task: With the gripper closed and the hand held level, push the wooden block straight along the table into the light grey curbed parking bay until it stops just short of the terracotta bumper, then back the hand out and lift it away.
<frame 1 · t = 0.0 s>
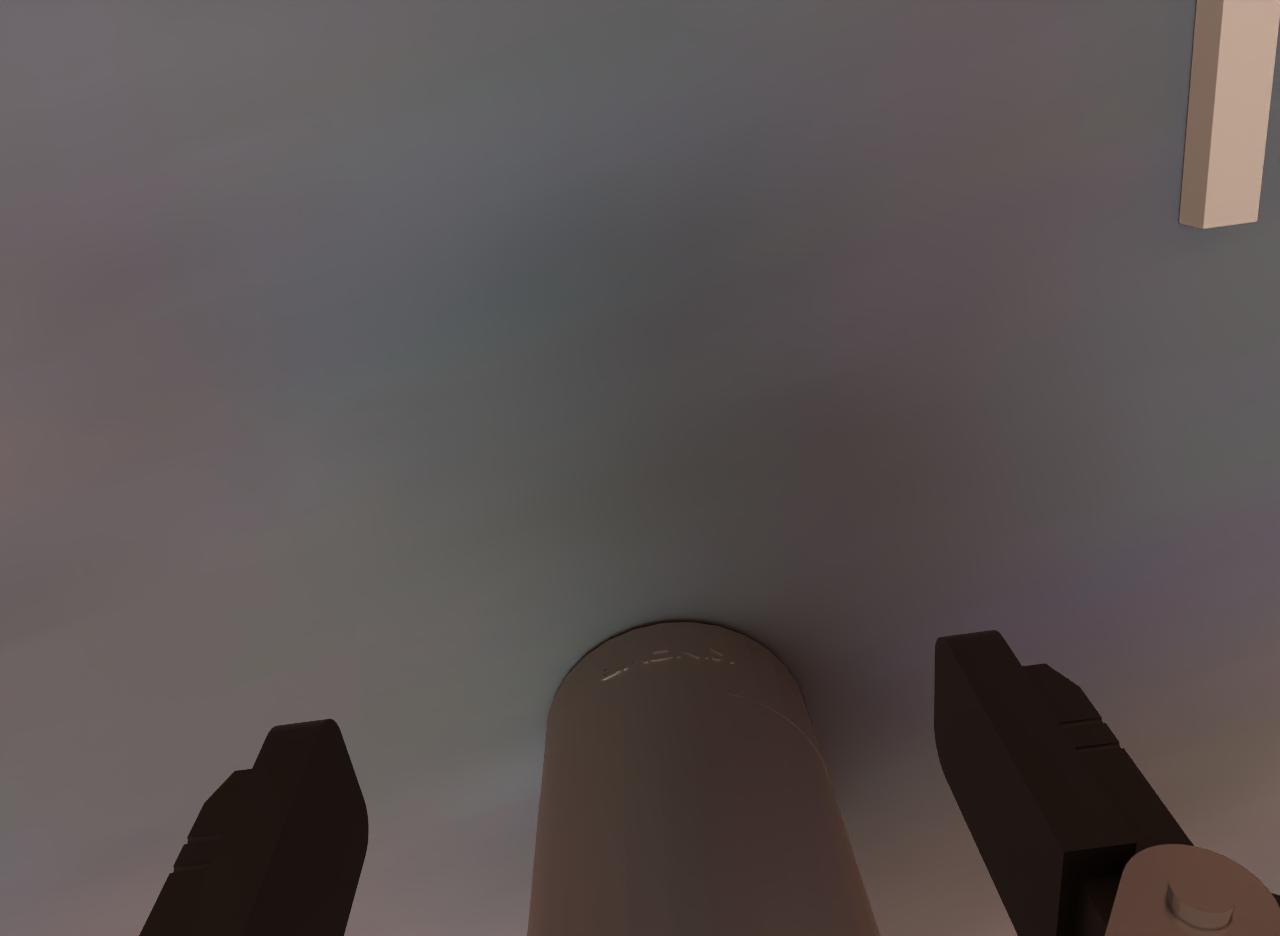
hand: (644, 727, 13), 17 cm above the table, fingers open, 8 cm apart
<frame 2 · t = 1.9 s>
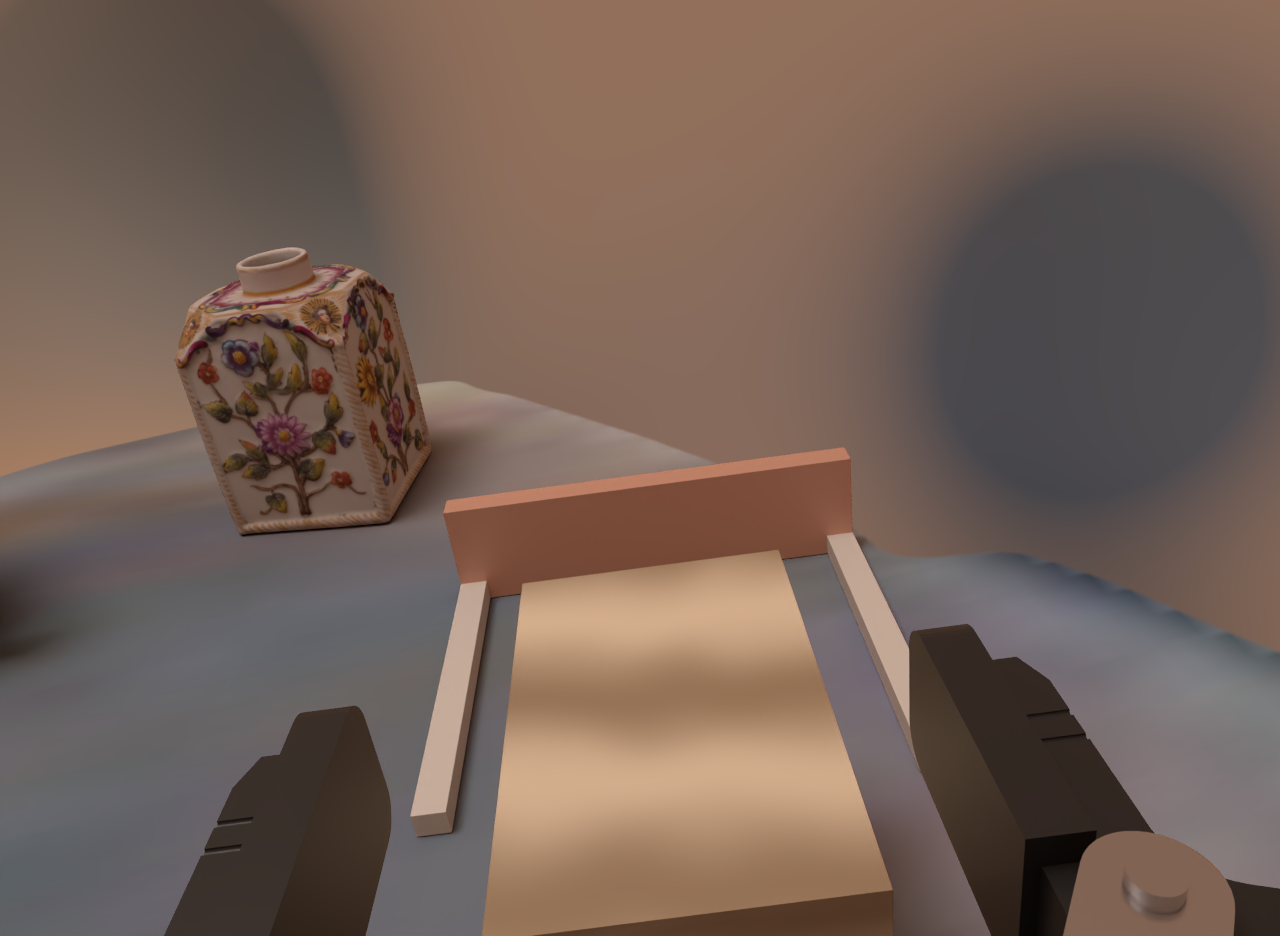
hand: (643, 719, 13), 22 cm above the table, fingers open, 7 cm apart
parking bay: (668, 661, 49), on the table
decorative jar: (341, 494, 71), on the table
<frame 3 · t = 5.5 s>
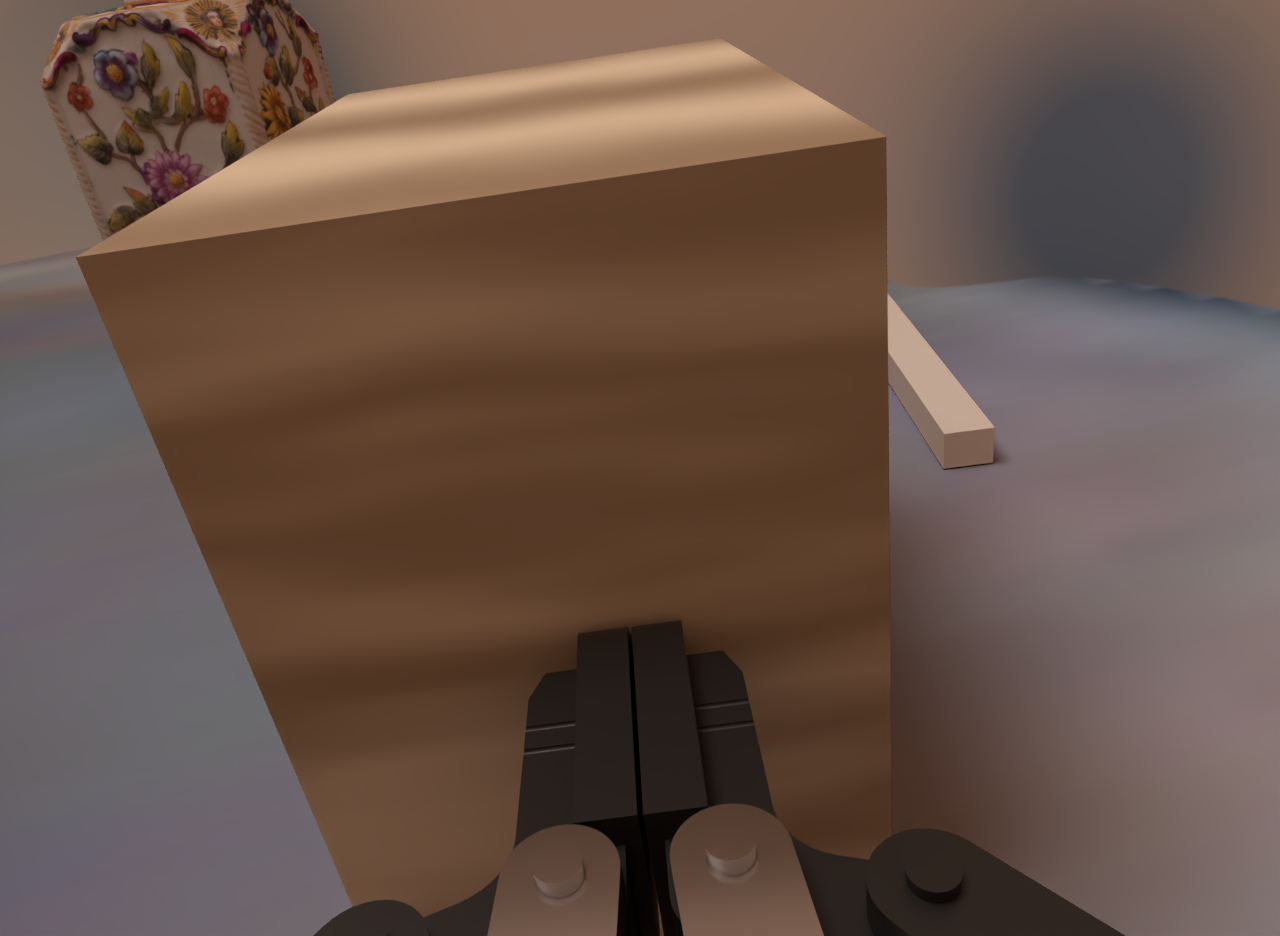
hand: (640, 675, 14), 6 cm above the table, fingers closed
parking bay: (618, 386, 38), on the table
decorative jar: (262, 280, 61), on the table
wooden block: (621, 676, 23), on the table, touching gripper
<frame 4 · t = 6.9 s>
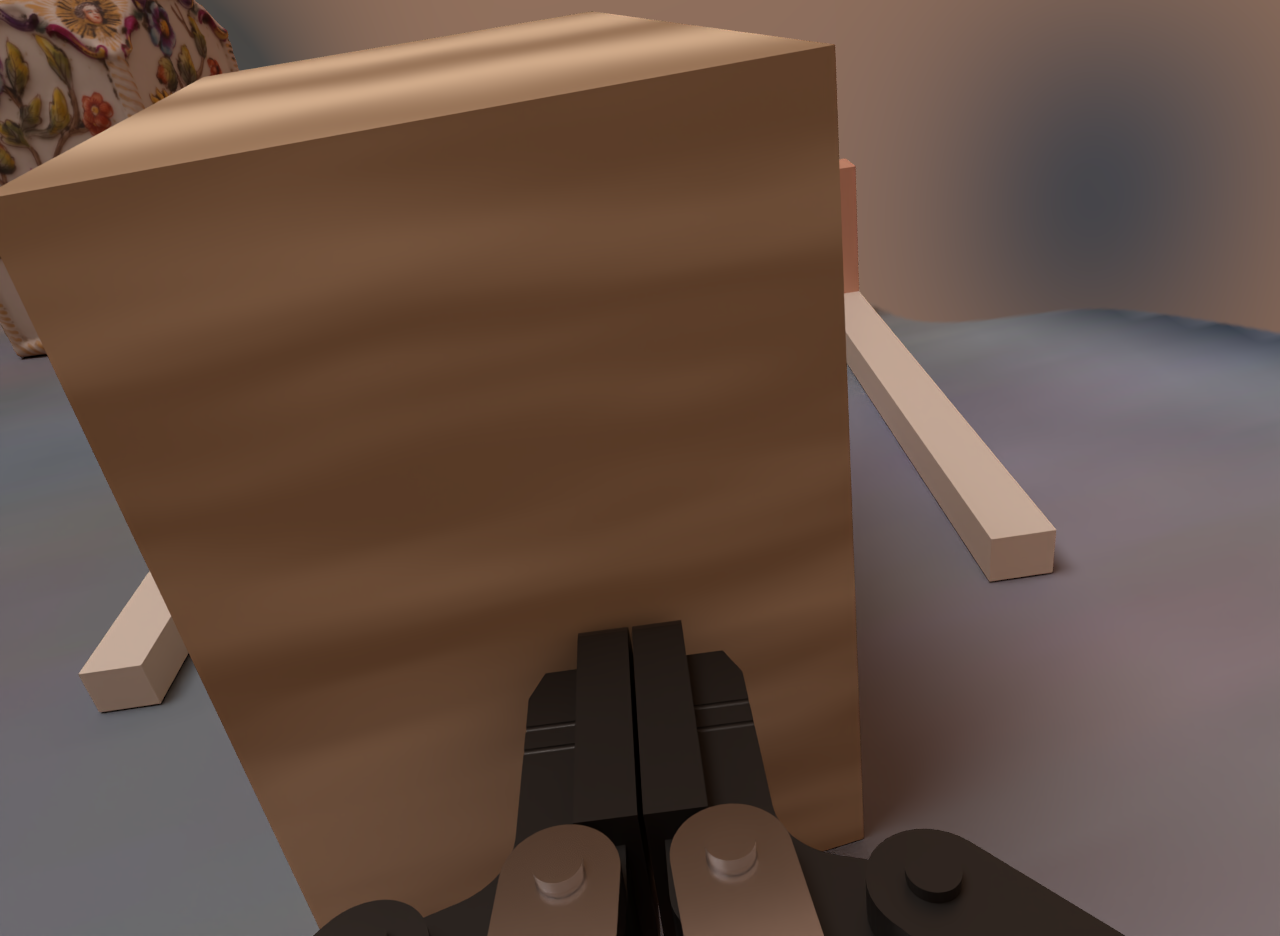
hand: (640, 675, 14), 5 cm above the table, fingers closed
parking bay: (573, 456, 31), on the table
decorative jar: (171, 313, 53), on the table
wooden block: (553, 660, 22), on the table, touching gripper
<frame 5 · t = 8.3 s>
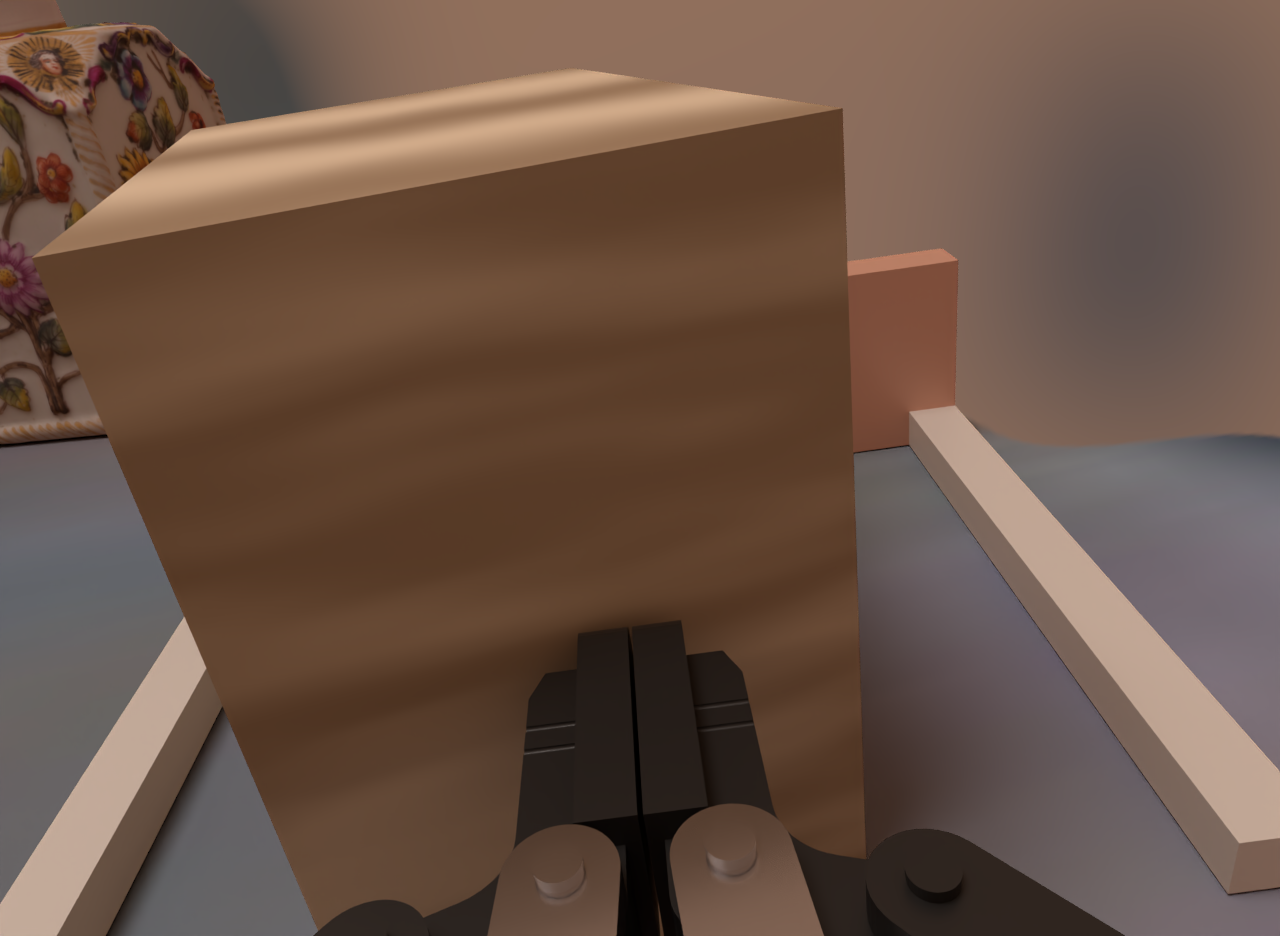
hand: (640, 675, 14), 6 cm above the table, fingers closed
parking bay: (616, 631, 24), on the table
decorative jar: (144, 394, 47), on the table
wooden block: (545, 699, 22), on the table
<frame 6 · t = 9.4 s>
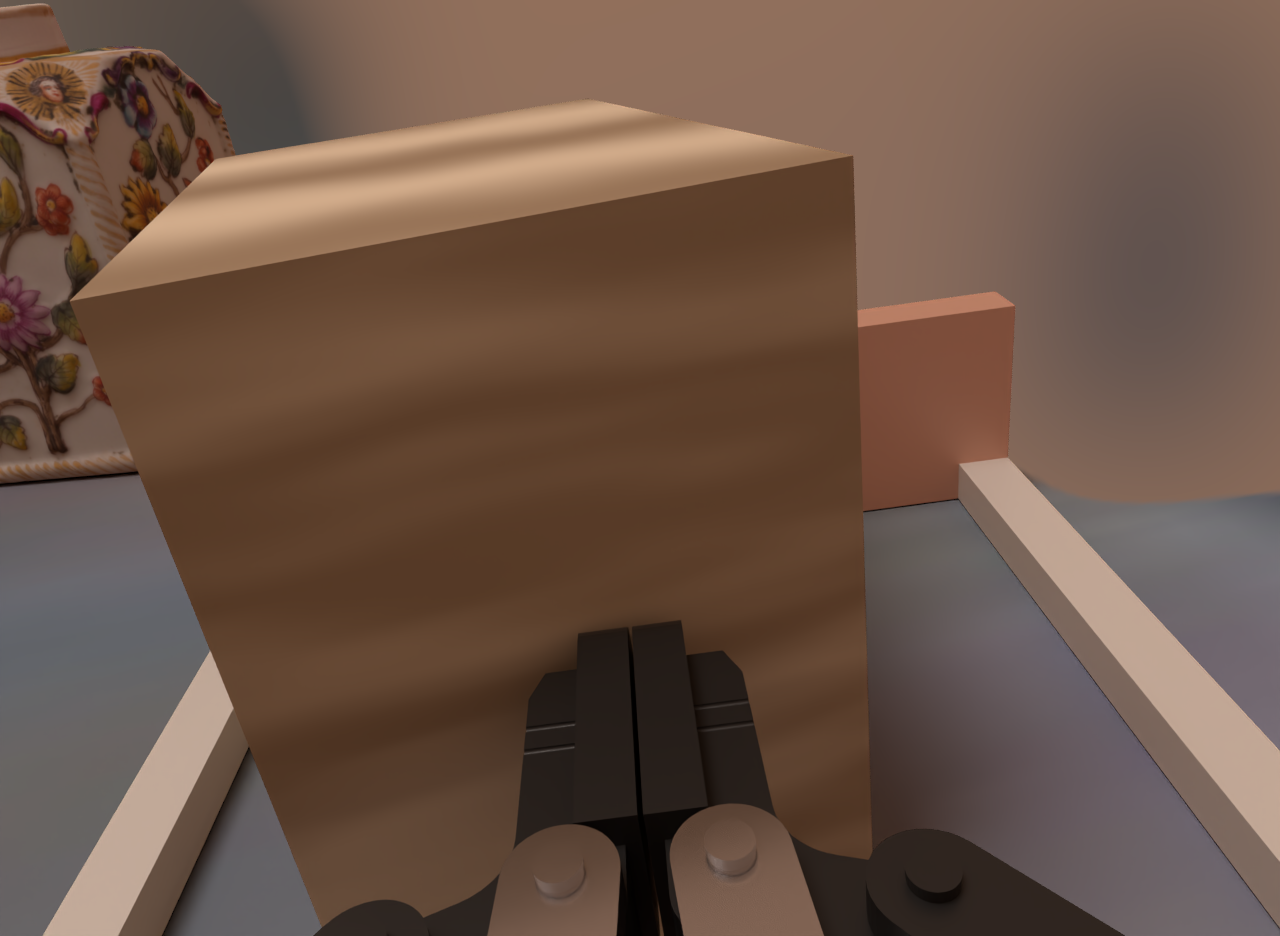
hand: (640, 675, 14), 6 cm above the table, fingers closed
parking bay: (655, 712, 22), on the table
decorative jar: (145, 429, 45), on the table
wooden block: (556, 721, 23), on the table, touching gripper, parking bay
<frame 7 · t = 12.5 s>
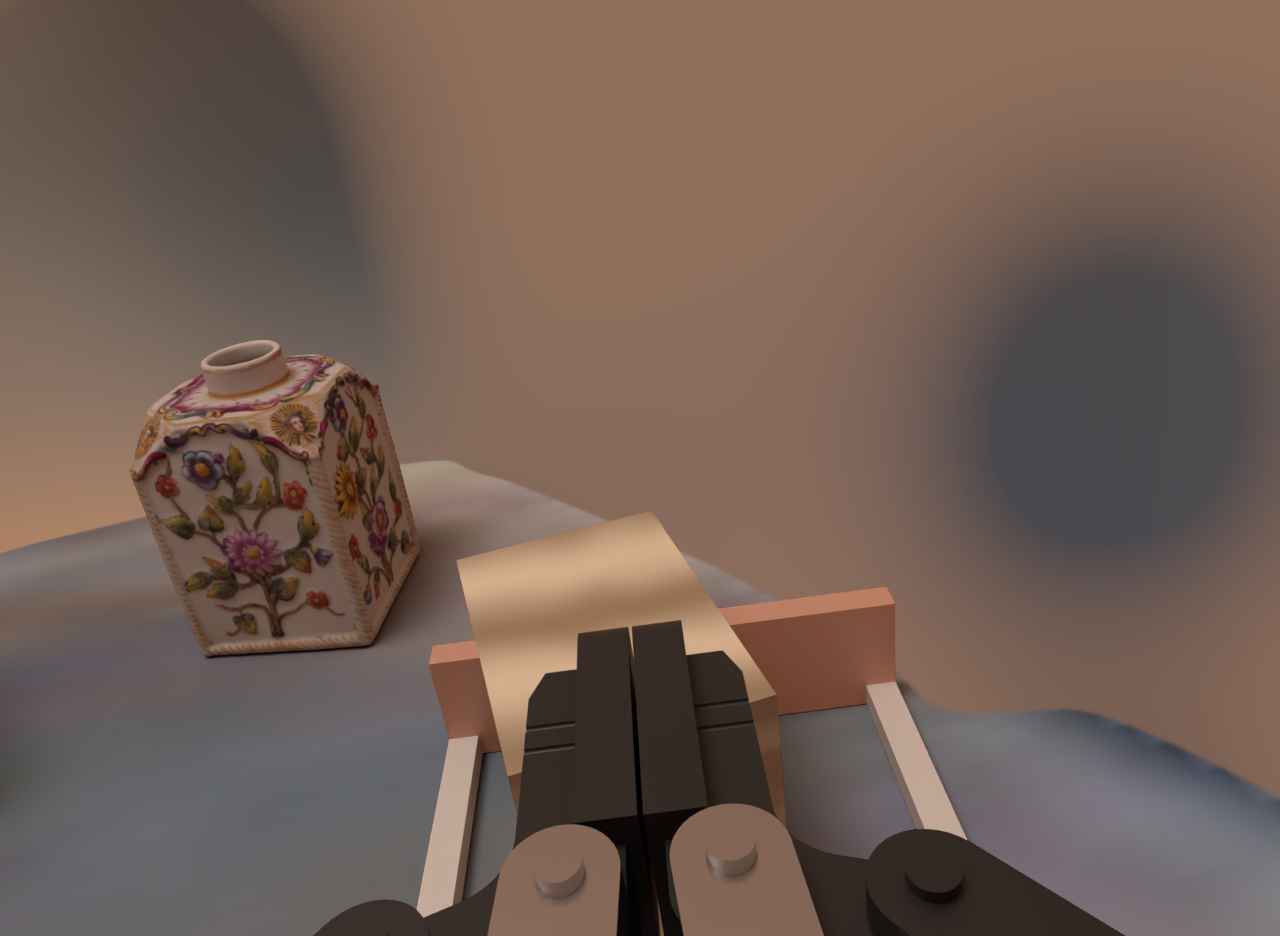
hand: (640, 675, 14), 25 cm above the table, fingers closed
parking bay: (688, 852, 42), on the table
decorative jar: (320, 604, 65), on the table
wooden block: (635, 858, 42), on the table
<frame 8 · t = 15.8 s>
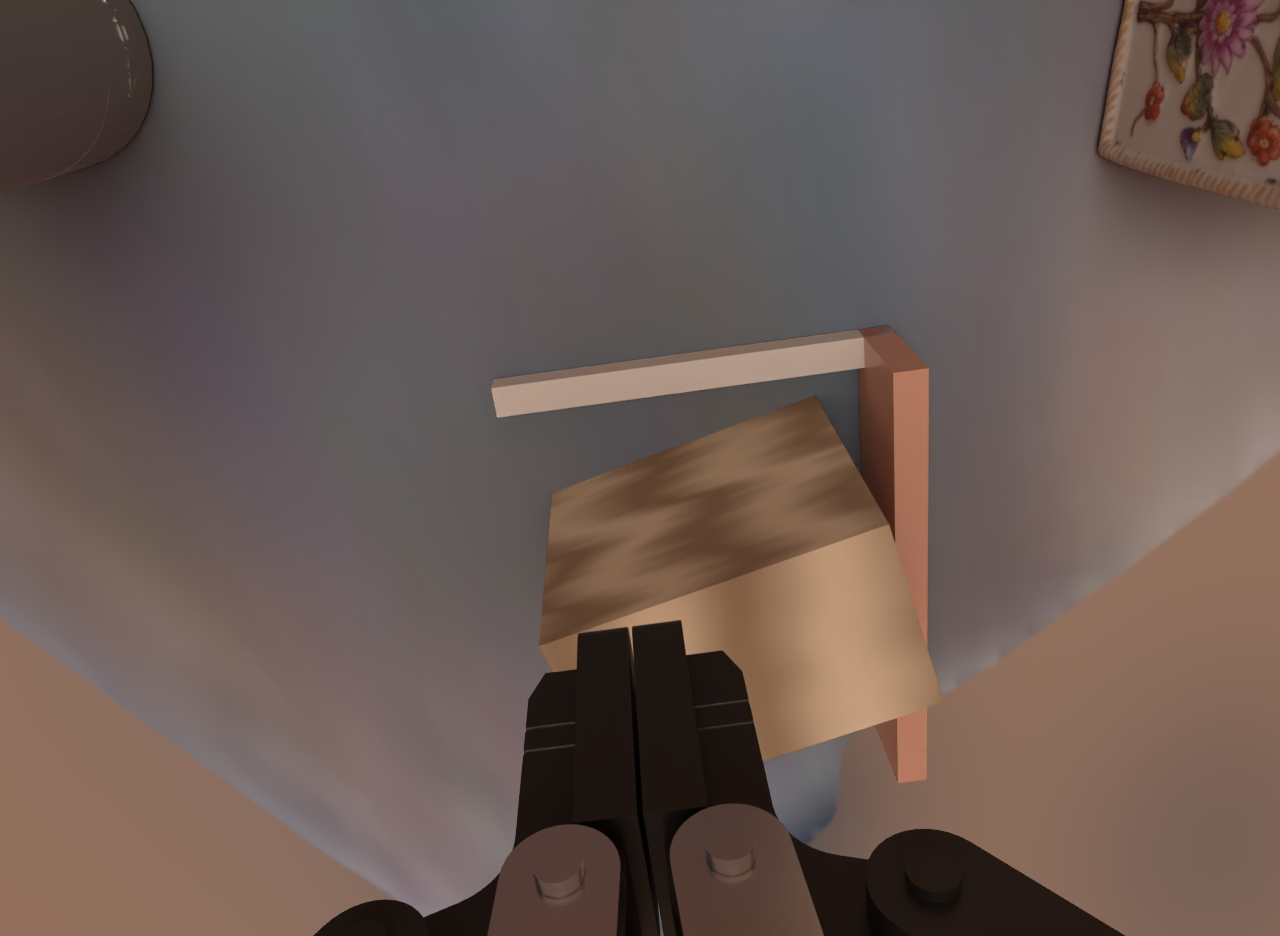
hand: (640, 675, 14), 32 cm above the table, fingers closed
parking bay: (713, 557, 50), on the table
decorative jar: (1249, 13, 40), on the table
wooden block: (710, 517, 49), on the table
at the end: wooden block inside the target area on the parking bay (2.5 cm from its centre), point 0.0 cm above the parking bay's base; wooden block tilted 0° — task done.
